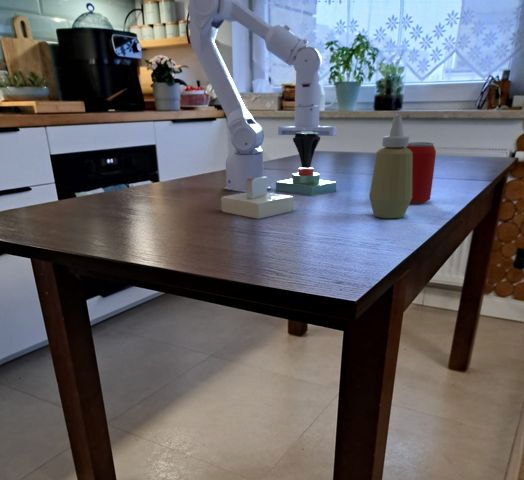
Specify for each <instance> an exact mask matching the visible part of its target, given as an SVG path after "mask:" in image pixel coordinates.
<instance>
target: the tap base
mask: <svg viewBox="0 0 524 480" xmlns="http://www.w3.org/2000/svg"><path fill="white" fill-rule="evenodd" d="M220 199H221V200H220V201H221V202H220V203H221V212H223V213H228V214H232V215H237V216H242V217H246V218H250V219H251V218H252V219H257V220H260V219H265V218H268V217H273V216H277V215H282V214H286V213H291V212H294V196H293V195H287V194H281V193H276V192H268V191H267V194H266V195H263V196H260V197H257V198H254V199H248V198H246V192H240V193H235V194H229V195H224V196H221V198H220Z"/></svg>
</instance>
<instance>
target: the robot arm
mask: <svg viewBox="0 0 524 480" xmlns="http://www.w3.org/2000/svg"><path fill="white" fill-rule="evenodd" d="M187 13H188V16H189V42H190V46H191V48H192V49H193V52H194V53H195V55H196V57H197V59H198V62H199V64H200V66H201V68H202V70H203V72H204V74H205V76H206V77H207V80H208V82H209V84H210V86H211V89H212V90H213V93H214V94H215V97H216V99H217V100H218V102H219V104H220V106H221V108H222V110H223V112H224V114H225V117H226V120H227V128H228V130H229V131H230V140H231V145H232V146H233V148H234V149H233V152H231V153H229V154H228V155H227V157H226V160H225V177H226V179H225V180H226V186H224V190H229V191H233V192H240V193H246V180H247V179H249V178H252V179H253V178H257V177H261V176H262V177H264V149H263V148H262V147H261V146H262V144H263V143H264V140H265V133H264V130H263V128H262V126H261V125H260V124H259V123H258V122H256V120H255V119H254V117H253V115H252V114H251V113H250V111H249V110H248V109H247V108H246V106H245V105H246V104H244V102H243V100H242V98H241V97H242V96H241V94H240V93H239V91H238V89H237V86H236V85H235V83H234V80H233V78H232V77H231V74H230V72H229V70H228V68H227V66H226V64H225V62H224V59H223V57H222V55H221V53H220V51H219V49H218V47H217V45H216V43H215V42H216V38H217V35H218V32H219V29H220V28H221V26H222V25H223V23H224V22H225V21H226V22H229V23H231V22H237V23H239V25H241V26H243V27H244V28H246V29H247V30H249V31H250V32H252V33H253V34H255V35H257V36H258V37H259V38H260V39H262V40H263V41H264V43H265V47H266V50H267V51H268V52H270V53H271V54H272V55H274V56H275V57H276V58H278V59H279V60H281V61H282V62H283V63H285V64H287V65H288V66H289V67H291V66H293V69H294V71H295V85H294V125H280V126H278V127H277V131H278V133H277V135H278V136H294V137H293V138H292V142H293V144H294V146H295V147H296V150H297V152H298V155H299V160H300V164H301V168H309V167H310V168H311V166H312V162H313V161H312V160H313V158H314V154H315V151H316V149H317V147H318V144H319V143H320V141H321V137H325V136H326V137H335V136H337V134H338V133H337V132H338V131H337V130H338V129H337V128H338V127H337V126H328V125H327V126H326V125H325V126H322V125H320V106H321V105H320V103H321V84H320V80H321V75H320V74H321V73H320V69H321V68H322V63H323V61H322V59H323V58H322V56H321V53H320V52H319V50H318V49H316V47H314V46H311V45H308V44H309V41H308V40H307V39H306V38H304V39H302V38H300V37H299V36H297V35H296V34H294V33H293V32H292V31H291V30H292V28H291V26H288V25H287V24H284V26H283V25H282V24H279V23H278V24H277V25H271V24H270V23H268V22H266V21H265V20H264V19H263V18H261V17H260V16H259V15H258V14H256V13H255V12H254V11H252V10H251V9H249V8H248V7H246V6H245V4H243V3H242V2H240V1H238V0H189V1H188V4H187ZM267 190H272V187H271V186H267Z"/></svg>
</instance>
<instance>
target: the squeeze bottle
mask: <svg viewBox="0 0 524 480" xmlns="http://www.w3.org/2000/svg"><path fill="white" fill-rule="evenodd" d="M409 141H410V137H409V136H406V135H404V129H403V117H402V114H394V115H393V119H392V122H391V126H390V130H389V133H388V135H385V136H382V144H381V146H382V148H379V149H378V150H377V151H376V154H375V160H374V166H373V172H372V178H371V184H370V189H369V195H368V198H369V200H370V205H371V210H372V214H373V216H374V217H377V218H381V219H398V218H399V219H400V218H403V217H404V216H406V213H407V211H408V209H409V206H410V202H411V199H412V160H413V152H412V151H411V150H410V149H407V148H405V147H407V146H408V143H410V142H409Z"/></svg>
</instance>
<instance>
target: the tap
mask: <svg viewBox="0 0 524 480" xmlns="http://www.w3.org/2000/svg"><path fill="white" fill-rule="evenodd" d="M267 187H268V177H267V176H263V177H262V176H261V177H257V178H253V179H252V178H249V179H247V180H246V192H245V193H246V198H248V199H254V198H257V197H260V196H263V195H266V194H267V192H268V189H267Z"/></svg>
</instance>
